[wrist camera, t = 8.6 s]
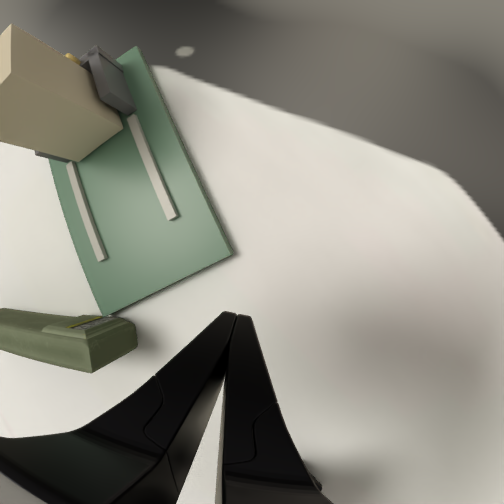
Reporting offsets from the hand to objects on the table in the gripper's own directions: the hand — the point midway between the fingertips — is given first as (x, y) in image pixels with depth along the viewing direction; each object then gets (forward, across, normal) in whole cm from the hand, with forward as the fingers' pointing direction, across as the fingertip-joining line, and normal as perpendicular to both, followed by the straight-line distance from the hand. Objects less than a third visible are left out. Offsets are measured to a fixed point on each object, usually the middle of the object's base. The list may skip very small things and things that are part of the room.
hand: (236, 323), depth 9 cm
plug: (+16, +16, -3) cm, 22 cm away
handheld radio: (+9, +21, +16) cm, 28 cm away
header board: (+15, +12, +2) cm, 20 cm away
